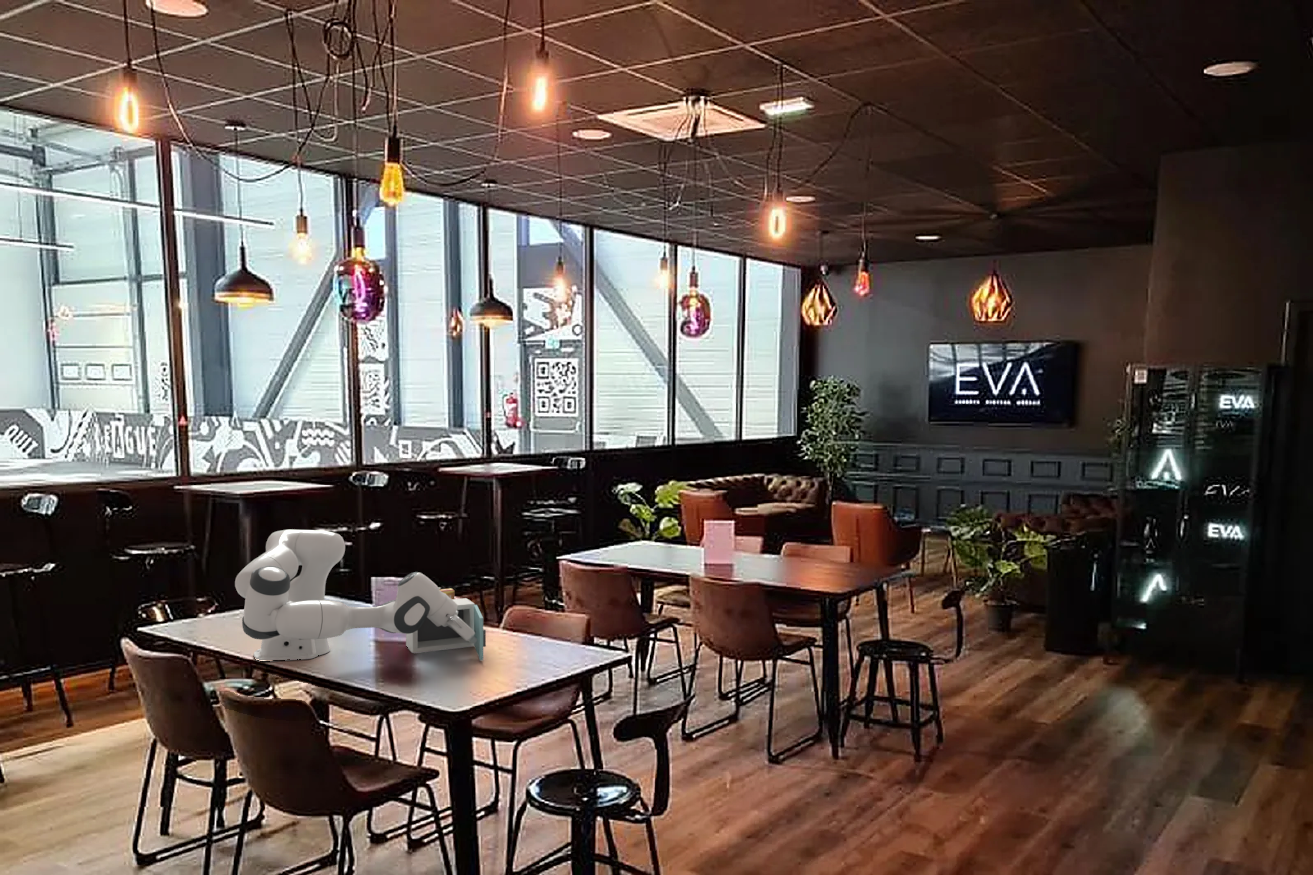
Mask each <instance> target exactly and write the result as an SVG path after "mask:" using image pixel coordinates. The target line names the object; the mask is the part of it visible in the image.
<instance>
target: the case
mask: <svg viewBox="0 0 1313 875" xmlns="http://www.w3.org/2000/svg"><path fill="white" fill-rule="evenodd" d="M452 600H453V601H454V602H455V603H456V604H457V606H458V607H457V611H458V615H457V616H458V617H459V618H460V619H462V620H463V621H464V622H465V623H466V624H467V625H468V626H469V627H470V628H471V629H472V630H473V631H474V605H476V604H475V603H474V602H473V601H471V600H470V599H468V598H466V597H465V598H454V599H452ZM405 646H407V647H408V648H407V647H406V648H407V649H408V650H409V651H410V653H412V654H419V653H420V654H421V653H427V652H428V653H429V652H437V651H445V650H452V649H453V650H454V649H455V650H456V649H462V648H463V649H464V648H471V647H475V646H474V643H472V642H471V641H470V640H469V641H466V640H465V639H463V638H462V637H461V636H460V635H459V634H458V633H456V632H455V631H454V630H453V629H452V628H450V627H449V626H446V627H443V626H442V625H441V626H436V625H435V624H434V623H433V622H432V621H431V620H430V619H428V618H427V617H426V619H425V621H424V622H423V624H422V625H421V627H420V628H419V629H418V630H417V631H415V632H413V633H410V634H405Z"/></svg>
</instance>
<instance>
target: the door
mask: <svg viewBox="0 0 1313 875" xmlns="http://www.w3.org/2000/svg"><path fill="white" fill-rule="evenodd" d="M474 632H475V634H474V636H475V637H476V638H477V641H476V642H475V643H474V646H473V647H474V649H475V652H476V654H477V657H478V659H479V661H480V662H481V661H484V648H485V647H486V646H487V642H486V638H487V634H486V632H487V631H486V629H484V617H483V615H482V613H481V611H480V609H479V606H478V604H475V605H474Z"/></svg>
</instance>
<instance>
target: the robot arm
mask: <svg viewBox="0 0 1313 875" xmlns="http://www.w3.org/2000/svg"><path fill="white" fill-rule="evenodd" d="M266 540H267V541H266V542H265V552H263V553H262V554H260V555H258V557H256V558H254V559H253V560H252V561H250V562H249V563H248V564H247V565H245V567H244V568H242V569H241V571H240V572H239V573H237V575H236V577H235V581H234V587H235V589H236V590H235V591H237V594H238V595H240V596H241V597H242V598H244V599H245V600H244V609H243V616H242V617H241V618H242V619H241V624H242V626H241V627H242V630H243V632H244V634H246V635H247V636H248V637H250V638H252V639H256V640H261V645H260V648H258V649H256V650H255V651H254V652H253V656H254V657H255V658H256V659H259V660H285V661H288V660H287V659H290V660H289V661H300V660H299V659H301V660H311V659H314V658H316V657H319V656H321V655H325V654H327V653H329V652H330V651H331V648H330V644H329V641H328V639H331V638H336V637H339V636H342V635H343V634H344V633H345V632H346V631H348V630H352V629H371V628H372V629H373V628H375V629H380V630H382V631H384V632H387V633H389V634H390V633H391V634H405V635H406V634H410V633H413V632H415V631H417V630H418V629H419V628H420V627H421V625H422V624H423V622H424V621H425V619H426V617H427V618H428V619H430V620H431V621H432V622H433V623H434V624H435V625H436V626H441V625H442V626H443V627H446V626H449V627H450V628H452V629H453V630H454V631H455V632H456V633H458V634H459V635H460V636H461V637H462V638H463V639H465V640H466V641H469V640H470V641H471V642H472V643H475V642H476V641H477V638H476V637H475V636H474V634H475V632H474V631H473V630H472V629H471V628H470V627H469V626H468V625H467V624H466V623H465V622H464V621H463V620H462V619H460V618H459V617H458V616H457V615H458V611H457V607H458V606H457V604H456V603H455V602H454V601H453V600H452V599H451V598H450V597H449V596H447V595H446V594H445V593H443V592H441V591H440V588H439V587H438V585H437V584H436V583H435V582H434V581H432V580H431V579H430V578H429V577H428V576H426V575H425V574H423V573H422V572H418V571H415V572H411V573H409V574H406V575H405V576H404V577H403V578H402V579H401V580H400V581H399V582H398V584H397V592H396V598H395V599H392V600H388V601H387V602H384V603H383V604H380V605H378V606H377V605H376V606H350V605H349V606H348V605H346V604H345V603H344V602H342V601H337V600H329V599H327V600H326V599H325V597H326V596H325V594H326V583H327V578H328V576H329V573H330V572H331V570H332V568H333V567H334V566H335V565H336V564H338V563H339V562H340V561H341V560H342V559H343V557H344V555H345V551H346V544H345V540H344V538H343V537H342V536H341V535H340V534H339V533H337V532H333V531H328V530H322V529H321V530H318V529H317V530H316V529H295V528H294V529H293V528H292V529H283V530H277V531H274V532H272V533H271V534H270V535H269V536H268V538H267V539H266ZM299 566H302V567H301V571H300V573H299V575H297V573H298V570H299ZM318 655H319V656H318ZM254 657H253V658H254ZM297 659H298V660H297Z"/></svg>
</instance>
